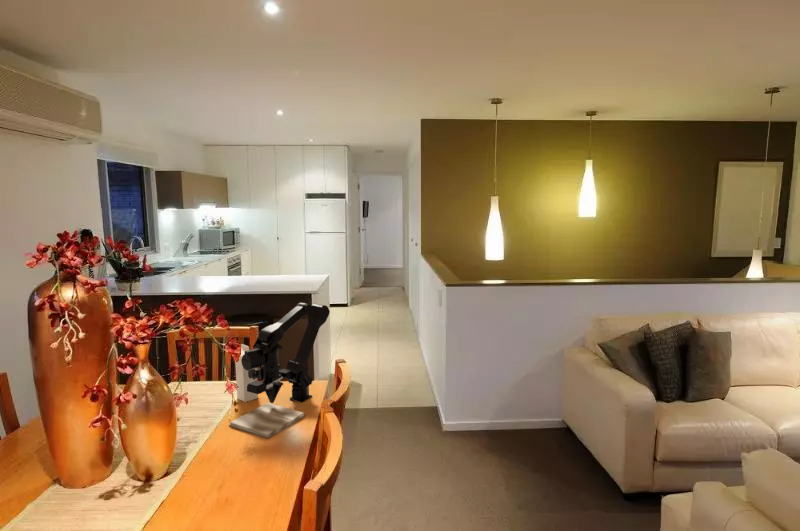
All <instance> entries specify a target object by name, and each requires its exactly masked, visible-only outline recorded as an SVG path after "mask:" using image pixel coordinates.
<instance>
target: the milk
mask: <svg viewBox="0 0 800 531" xmlns="http://www.w3.org/2000/svg"><path fill="white" fill-rule="evenodd" d="M240 346H241V347H240V348H241V355H240V357H239V361H238V362H236V361H235V360H234V361H235V362H234V363H235V364H234V365H235V378H236V380H235V381H236V387H237V386H238V387H239V389H238V390H237V389H236V397H237V399H238V400H240V401H241V400H242V401H241V402H243V403H247V401H248V402H251V401H253V400H257V399H258V398H259V394H255V393H251V392H247V385H248V384H249V383H251V382H254V381H258V378H256V379H254V380H253V378H251V379H250V378H249V376H248V370H245V369H244V368H243V366H242V362H241V359H242V357H243V355H245V351H247V350H250V347H249V346H248V345H246V344H243V343H241V344H240ZM254 369H255V370H256V369H258V367H257V368H254Z"/></svg>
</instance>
